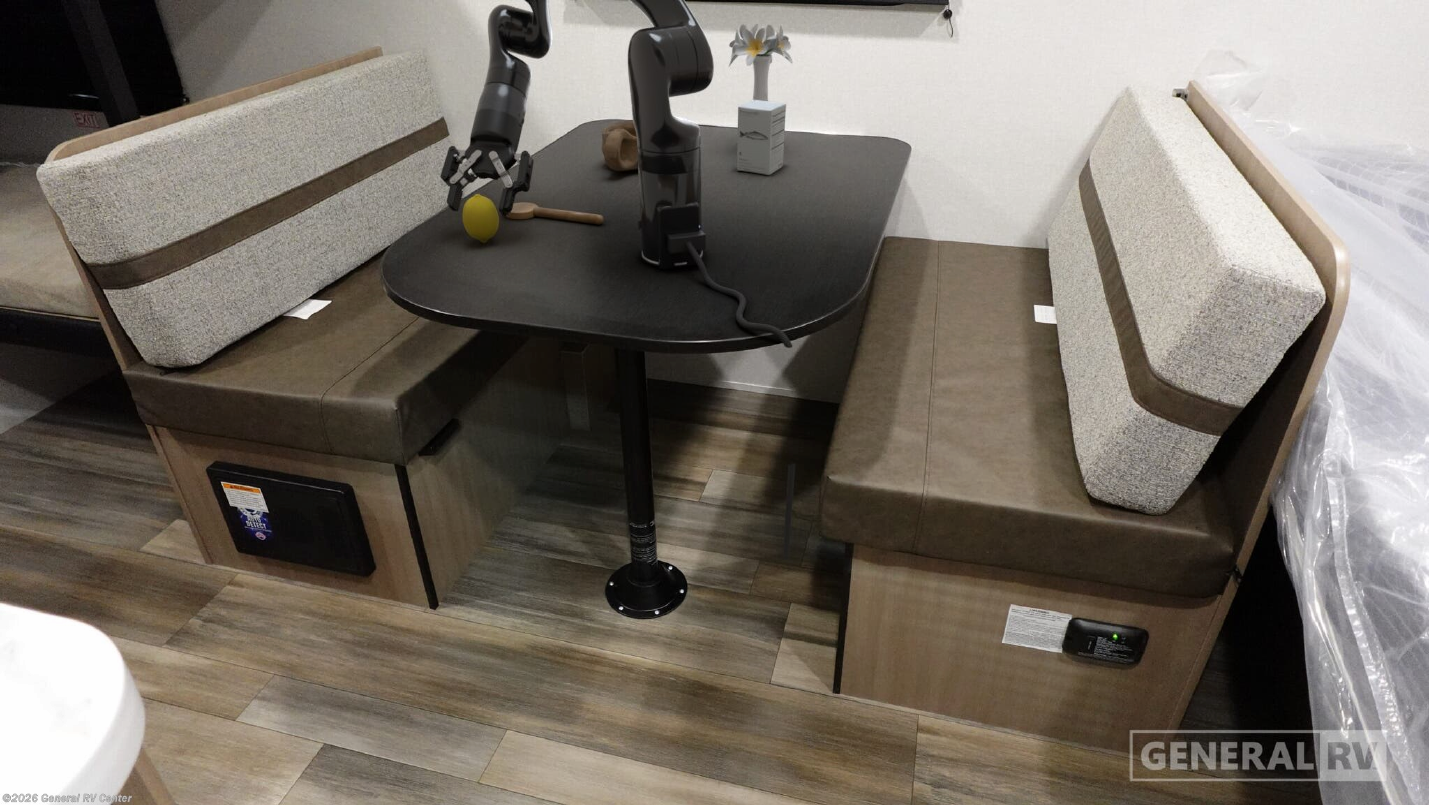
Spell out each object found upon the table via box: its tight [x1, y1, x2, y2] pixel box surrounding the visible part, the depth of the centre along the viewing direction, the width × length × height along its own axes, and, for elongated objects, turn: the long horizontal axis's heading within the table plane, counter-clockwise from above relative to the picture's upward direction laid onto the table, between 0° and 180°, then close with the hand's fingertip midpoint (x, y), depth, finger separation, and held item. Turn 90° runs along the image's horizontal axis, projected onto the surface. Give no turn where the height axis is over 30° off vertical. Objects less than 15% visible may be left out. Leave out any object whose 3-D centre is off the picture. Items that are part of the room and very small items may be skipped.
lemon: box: [462, 193, 500, 244], centre depth 140 cm, size 6×6×8 cm
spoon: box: [505, 202, 604, 225], centre depth 152 cm, size 19×6×2 cm, turn 70°
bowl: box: [601, 119, 638, 172], centre depth 175 cm, size 18×14×10 cm
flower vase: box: [728, 23, 793, 101], centre depth 184 cm, size 13×18×25 cm
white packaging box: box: [736, 99, 787, 176], centre depth 174 cm, size 7×7×13 cm
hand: (478, 211), depth 139 cm, fingers open, 8 cm apart
